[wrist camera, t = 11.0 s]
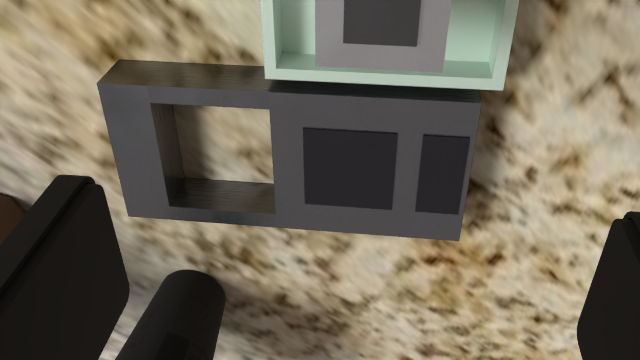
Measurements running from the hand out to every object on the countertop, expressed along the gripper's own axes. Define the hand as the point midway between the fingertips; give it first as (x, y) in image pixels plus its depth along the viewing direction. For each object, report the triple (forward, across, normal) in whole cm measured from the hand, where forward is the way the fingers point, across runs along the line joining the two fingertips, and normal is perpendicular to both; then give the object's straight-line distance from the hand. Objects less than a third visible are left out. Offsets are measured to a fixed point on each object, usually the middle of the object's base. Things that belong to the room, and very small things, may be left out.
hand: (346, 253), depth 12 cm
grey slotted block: (+22, +5, +11) cm, 25 cm away
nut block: (+22, 0, 0) cm, 22 cm away
